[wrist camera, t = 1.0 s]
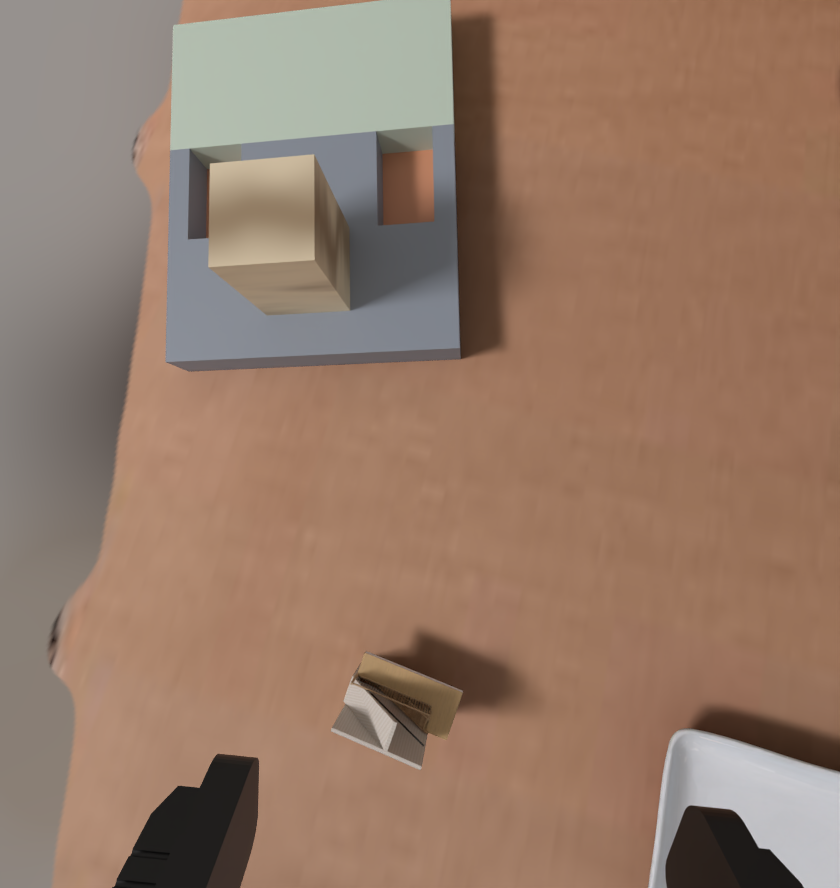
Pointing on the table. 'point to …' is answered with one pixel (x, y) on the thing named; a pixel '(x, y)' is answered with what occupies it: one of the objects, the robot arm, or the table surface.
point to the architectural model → (396, 709)
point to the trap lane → (345, 168)
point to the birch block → (279, 235)
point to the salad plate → (753, 802)
